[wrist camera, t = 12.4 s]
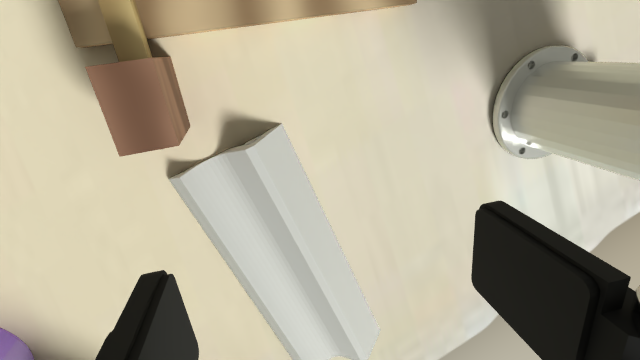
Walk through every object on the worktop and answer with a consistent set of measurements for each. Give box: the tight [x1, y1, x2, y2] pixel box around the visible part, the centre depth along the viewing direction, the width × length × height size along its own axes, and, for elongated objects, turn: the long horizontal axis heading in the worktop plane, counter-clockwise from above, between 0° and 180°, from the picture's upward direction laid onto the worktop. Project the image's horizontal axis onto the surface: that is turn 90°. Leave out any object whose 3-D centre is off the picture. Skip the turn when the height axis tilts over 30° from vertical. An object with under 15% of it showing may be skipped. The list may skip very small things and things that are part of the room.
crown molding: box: [169, 124, 380, 360], centre depth 37 cm, size 31×12×4 cm, turn 23°
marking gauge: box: [85, 0, 190, 156], centre depth 24 cm, size 4×16×7 cm, turn 8°
